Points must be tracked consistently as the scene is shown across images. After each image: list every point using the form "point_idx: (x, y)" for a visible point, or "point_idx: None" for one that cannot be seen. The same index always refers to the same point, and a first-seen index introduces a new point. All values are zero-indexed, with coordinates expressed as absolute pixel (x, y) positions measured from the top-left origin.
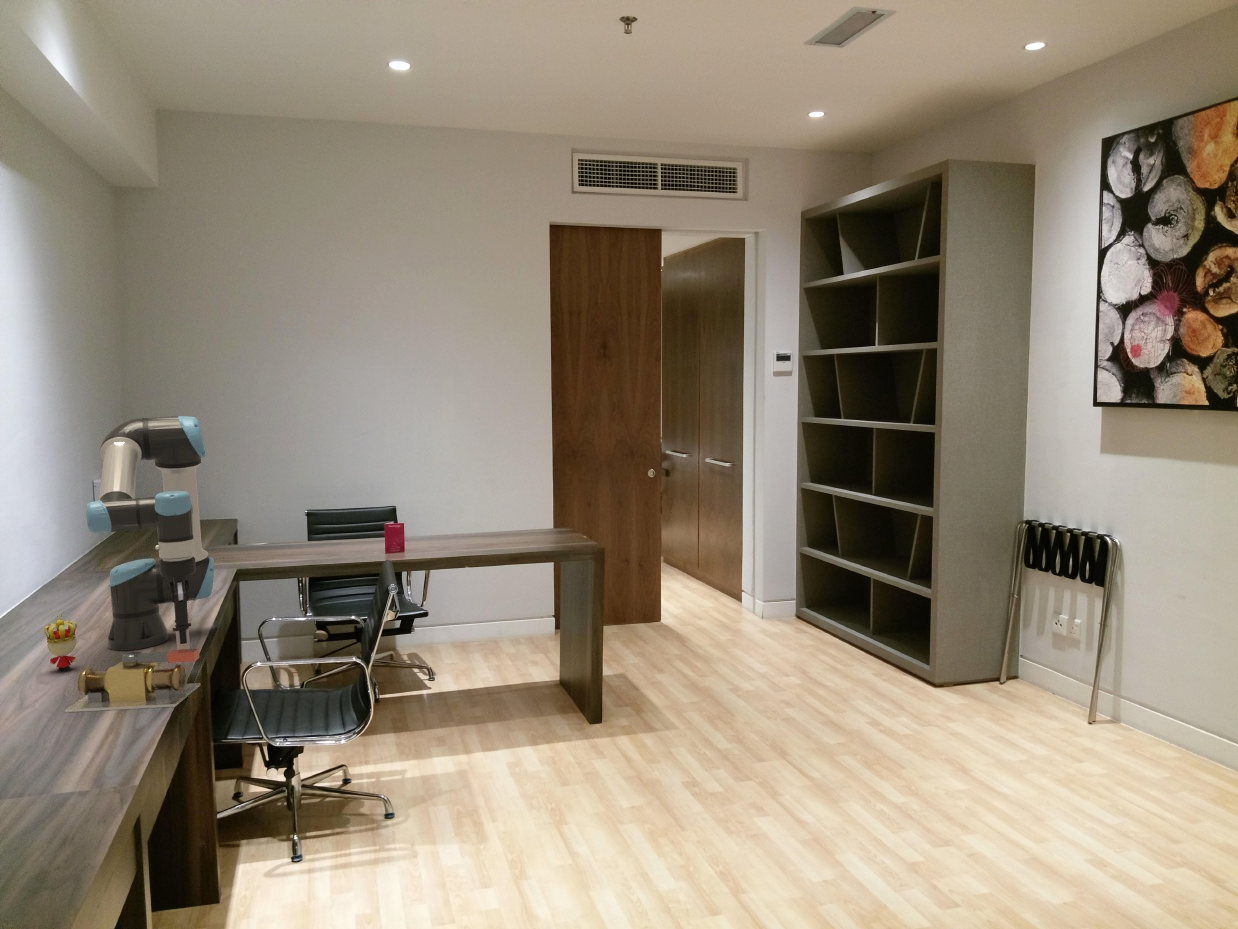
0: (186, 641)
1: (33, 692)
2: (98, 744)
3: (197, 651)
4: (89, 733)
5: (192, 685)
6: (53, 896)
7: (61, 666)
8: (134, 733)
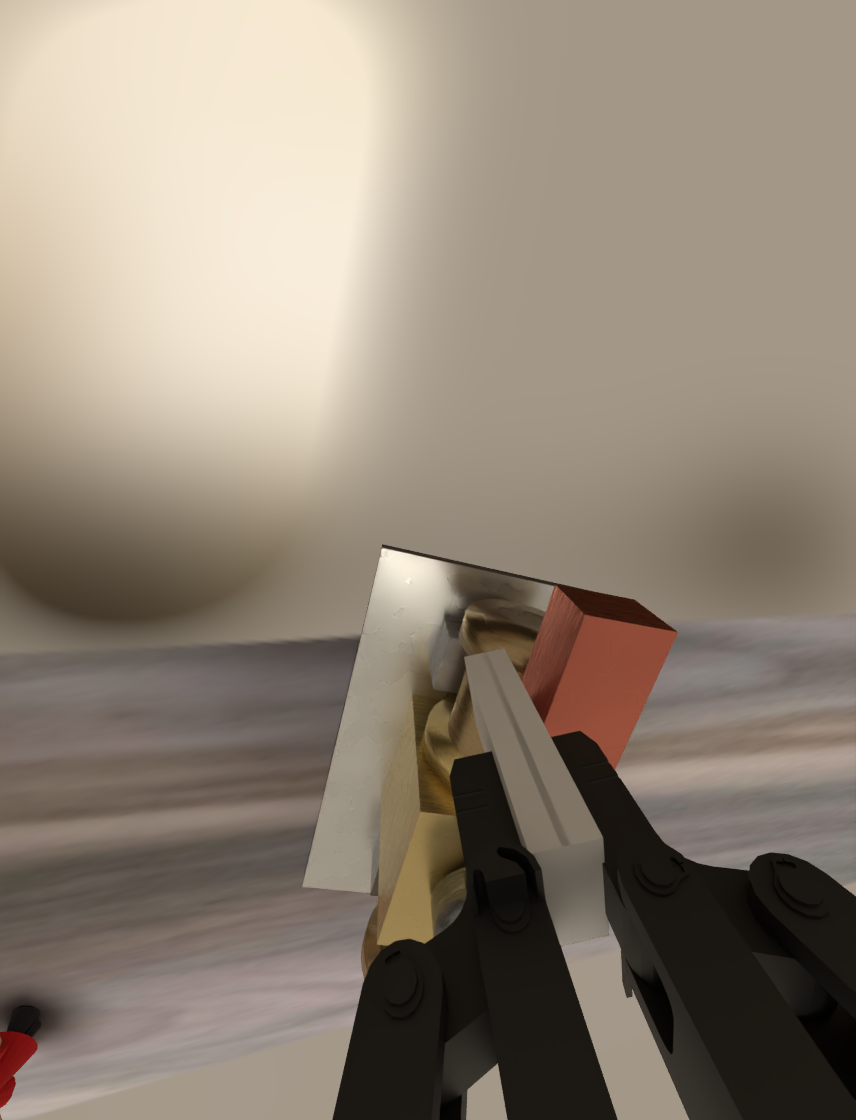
0: (596, 745)
1: (258, 1014)
2: (848, 746)
3: (606, 613)
4: (735, 791)
5: (406, 576)
6: None
7: (33, 1048)
8: (825, 674)
